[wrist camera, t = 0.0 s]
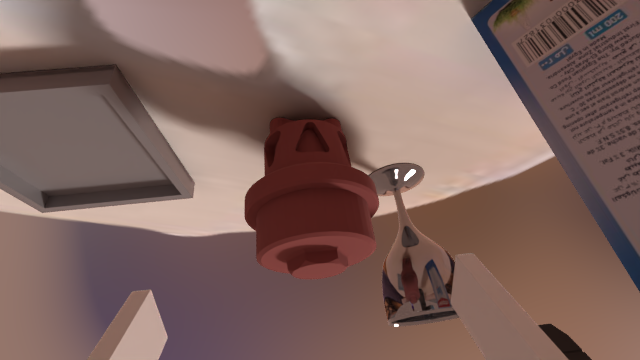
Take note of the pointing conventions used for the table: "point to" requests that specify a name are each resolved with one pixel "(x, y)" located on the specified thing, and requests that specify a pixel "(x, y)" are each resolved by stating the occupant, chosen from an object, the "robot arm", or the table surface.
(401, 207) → the wine glass
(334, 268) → the mechanical component
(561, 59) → the milk carton
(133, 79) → the table surface
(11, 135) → the charcoal tray
